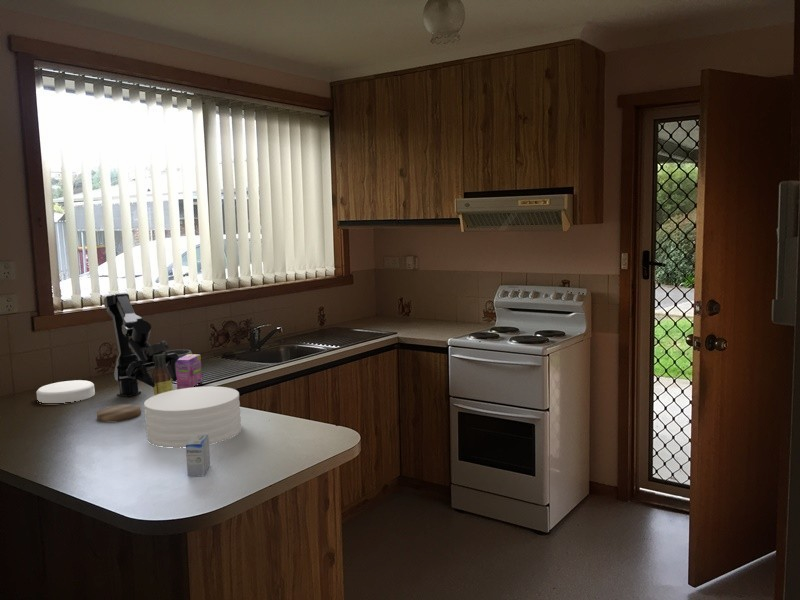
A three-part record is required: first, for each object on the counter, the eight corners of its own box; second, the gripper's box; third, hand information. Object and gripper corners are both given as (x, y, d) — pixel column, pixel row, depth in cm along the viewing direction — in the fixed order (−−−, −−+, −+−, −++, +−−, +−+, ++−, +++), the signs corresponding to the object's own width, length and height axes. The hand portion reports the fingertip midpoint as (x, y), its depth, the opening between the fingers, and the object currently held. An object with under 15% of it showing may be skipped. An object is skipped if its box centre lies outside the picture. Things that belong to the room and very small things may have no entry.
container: (59, 407, 254) (57, 394, 253) (25, 401, 264) (24, 389, 263) (106, 394, 271) (105, 382, 270) (73, 389, 281) (72, 377, 280)
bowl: (189, 378, 290) (187, 355, 289) (153, 380, 290) (151, 356, 289) (199, 370, 305) (198, 348, 304) (165, 371, 305) (164, 349, 304)
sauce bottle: (178, 407, 246) (173, 352, 243) (167, 412, 240) (162, 356, 238) (162, 406, 248) (158, 351, 246) (151, 411, 242) (146, 355, 240)
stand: (87, 419, 235) (87, 413, 235) (120, 408, 248) (120, 403, 248) (117, 423, 229) (117, 417, 229) (149, 412, 242) (149, 406, 242)
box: (190, 389, 272) (188, 359, 271) (176, 389, 273) (174, 359, 272) (202, 382, 282) (200, 354, 281) (189, 382, 283) (187, 354, 282)
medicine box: (193, 466, 187) (191, 435, 186) (210, 465, 188) (208, 434, 187) (187, 477, 179) (184, 444, 178) (205, 476, 180) (202, 443, 179)
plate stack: (126, 444, 208) (123, 407, 207) (187, 417, 234) (184, 384, 233) (204, 453, 198) (201, 413, 197) (258, 424, 224) (256, 389, 222)
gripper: (128, 339, 235) (151, 374, 231) (173, 330, 251) (196, 363, 246) (116, 360, 241) (138, 395, 236) (161, 350, 256) (183, 382, 251)
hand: (165, 383), depth 242 cm, fingers open, 9 cm apart
